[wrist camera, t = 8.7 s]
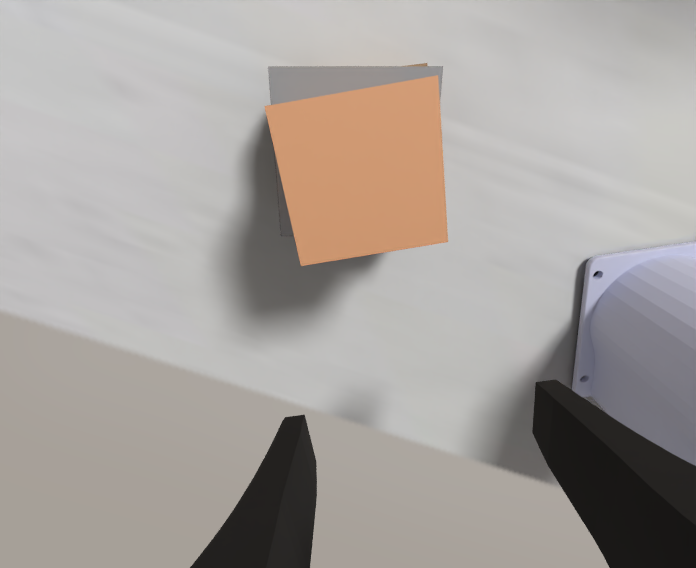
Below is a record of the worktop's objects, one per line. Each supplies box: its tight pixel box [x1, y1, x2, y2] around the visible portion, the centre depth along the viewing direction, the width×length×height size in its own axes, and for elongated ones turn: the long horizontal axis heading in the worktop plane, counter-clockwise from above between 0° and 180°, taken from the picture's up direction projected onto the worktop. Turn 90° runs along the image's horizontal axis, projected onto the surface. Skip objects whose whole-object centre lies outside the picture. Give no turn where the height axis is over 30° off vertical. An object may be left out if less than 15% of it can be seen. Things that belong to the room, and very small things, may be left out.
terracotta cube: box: [265, 75, 448, 266], centre depth 13 cm, size 4×4×4 cm
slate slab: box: [268, 66, 443, 236], centre depth 16 cm, size 6×6×2 cm
